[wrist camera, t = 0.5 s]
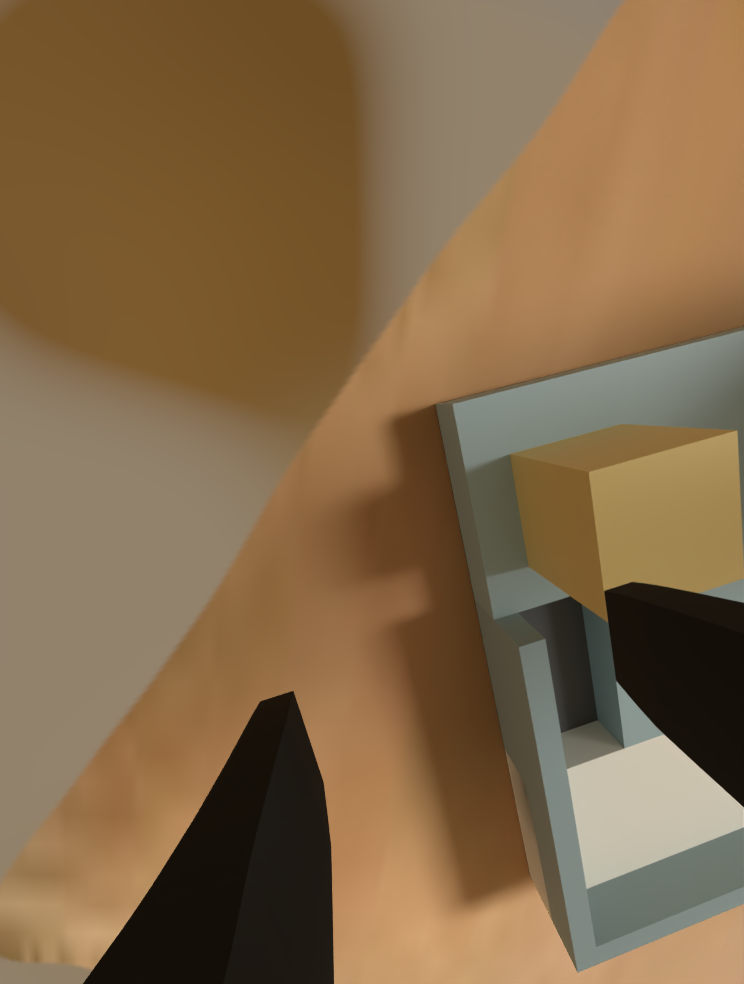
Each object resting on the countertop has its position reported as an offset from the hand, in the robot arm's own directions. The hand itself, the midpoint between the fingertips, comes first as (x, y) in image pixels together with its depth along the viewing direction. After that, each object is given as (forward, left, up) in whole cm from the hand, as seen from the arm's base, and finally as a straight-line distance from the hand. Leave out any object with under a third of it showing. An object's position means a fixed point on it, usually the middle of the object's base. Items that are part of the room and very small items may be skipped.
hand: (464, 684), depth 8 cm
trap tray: (-12, +8, -10) cm, 17 cm away
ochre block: (-8, 0, -8) cm, 11 cm away
